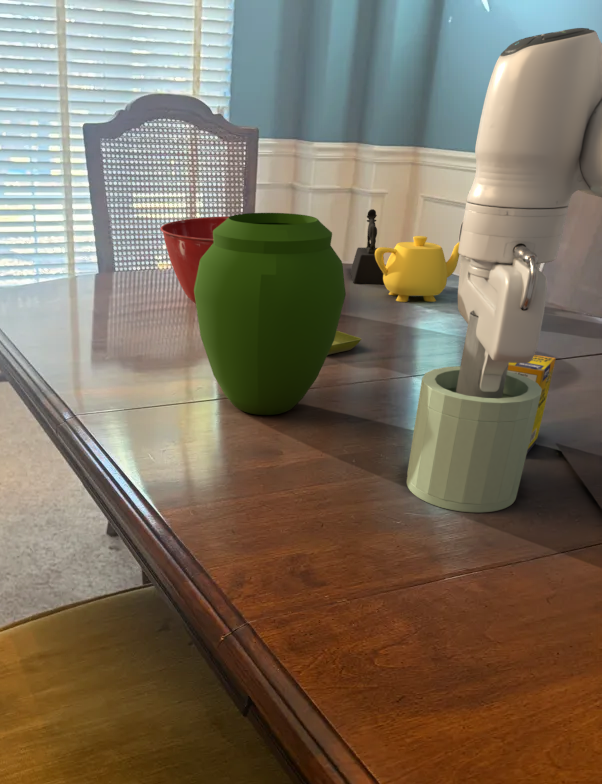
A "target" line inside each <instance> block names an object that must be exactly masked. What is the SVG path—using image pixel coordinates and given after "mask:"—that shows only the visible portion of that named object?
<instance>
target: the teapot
mask: <svg viewBox="0 0 602 784" xmlns="http://www.w3.org/2000/svg"><path fill="white" fill-rule="evenodd" d="M412 239H413V241H400V242H398V243H396V245H395V247H387V246H381V247H376V248H377V249H376V251H375V259H376V261H377V263H378V265H379V267H380V269H381V270H382V272H383V273H384V275H383V281H384V284H383V285H384V286H385V288H386V290H387V291H389V293H388V295H389V296H397V297H396V299H395V301H396V302H400V303H405V302H408V301H409V298H410V297H412V296H413V297H414V296H415V297H416V296H418V297H419V296H420V297H423V301H424V302H429V303H430V302H431V303H432V302H433V303H434V302H436V301H437V300H436V297H435V296H439V295H441V293H443V291H444V290H445V288H446V286H447V282H448V278H449V277H450V276H452V275H453V274H454V272H455V270H456V269H457V267H458V263H459V258H460V256H461V255H460V254H459V253H458V249H459V241H458V242H457V243H456V244H455V245H454V246H453V249H452V252H451V255H450V257H449V259H448V260H447V261H446V257H445V253H444V251H443V247H442V246H441V245H439V244H437V243H434V242H428V241H427V240H428V237H427V236H425V235H415V236H413V237H412ZM386 253H388V254H390V255H389V257H388V259H387V261H386V263H385V258H384V259H383V257H384V255H385V254H386Z"/></svg>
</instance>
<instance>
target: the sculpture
mask: <svg viewBox="0 0 602 784" xmlns="http://www.w3.org/2000/svg"><path fill="white" fill-rule="evenodd" d="M377 217H378V215H377V211H376V210H375V209H372V208H371V209H369V210H368V212H367V215H366V218H367V220H366V222H367V223H368V226H367V237H366V238H367V242H366V247H357V248H356V250H355V254H354V258H353V261H352V264H351V269H350V271H349V274H350V275H351V280H352V283H353V284H362V285H363V284H369V285H372V284H373V285H378V284H379V285H385V284H384V281H383V275H384V273H383V272H382V270H381V269H380V267H379V265H378V263H377V261H376V259H375V251H376V249H377V248H378V247H376V242H377V236H378V228H377V226H376V222H377V219H376V218H377ZM384 257H385V256H383V259H384V260H385V258H384Z"/></svg>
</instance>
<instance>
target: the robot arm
mask: <svg viewBox="0 0 602 784" xmlns="http://www.w3.org/2000/svg"><path fill="white" fill-rule="evenodd" d="M486 89H487V90H486V92H485V96H484V101H483V105H482V110H481V115H480V120H479V125H478V130H477V134H476V135H477V136H476V142H475V147H474V148H475V149H474V152H475V153H474V154H475V162H476V163H475V164H476V165H475V174H474V177H473V182H472V184H471V187H470V188H469V192H467V193H468V194H467V196H466V202H465V208H464V213H463V219H462V221H461V223H460V225H459V231H458V237H457V238H458V242H459V249H458V253H459V254H460V255H459V256H461V257H460V264H459V265H460V266H459V275H458V287H457V308H458V310H457V311H458V312H459V314H460V315H461V317H462V318H463V320H464V321H465V322H466V324H467V325H468V321H469V315H470V312H471V311H473V310H474V315H477V316H478V317H479V318H478V323H477V328H476V336H477V338H478V340H479V341H480V342H481V344H482V345H483V347H484V348H485V361H484V365H483V369H482V370H480V374H479V380H478V385H479V387H480V389H481V390H482V391H483V392H496V391H498V389H499V387H500V382H501V377H502V375H503V373H504V371H505V369H506V367H507V365H508V363H509V362H510V363H528V362H530V361H531V360H532V358H533V357H534V355H536V353H537V351H538V346H539V341H540V336H541V331H542V325H543V320H544V314H545V309H546V302H547V293H548V280H547V276H546V274H544V273H543V272H542V271H541V270H540V268H541V265H542V264H548V263H552V262H554V261H555V260H557V258H558V254H559V250H560V244H561V241H562V236H563V231H564V228H565V223H566V219H567V215H568V214H567V213H568V210H569V206H570V200H571V198H572V196H573V194H574V193H576V192H577V191H580V192H582V193H584V194H587V195H591V196H595V197H598V198H602V41H601V39H600V38H599V35H598V32H597V31H595V30H594V29H590V28H588V27H575V28H569V29H563V30H558V31H554V32H547V33H542V34H537V35H533V36H527V37H524V38H520V39H519V40H516V41H514V42H512V43H511V44H509V45H508V46H507V47H506V48H505V49H504V50H503V51H502V52H501V53H500V55H499V56H498V59H497V60H496V62H495V64H494V67H493V69H492V72H491V76H490V79H489V82H488V86H487V88H486Z"/></svg>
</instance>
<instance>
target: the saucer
mask: <svg viewBox="0 0 602 784" xmlns="http://www.w3.org/2000/svg"><path fill="white" fill-rule="evenodd" d="M361 341H362V337H358V336H356V335H352V334H349V333H347V332H343V331H339V330H337V331H336V334H335V338H334V342H333V344H332V346H331V348H330V350H329V353H328V355H327V356H329V355H332V354H333V355H334V354H338V353H342V352H346V351H350V350H352V349H353V348H355V347H356V346H357V345H358V344H359V343H360V342H361Z"/></svg>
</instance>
